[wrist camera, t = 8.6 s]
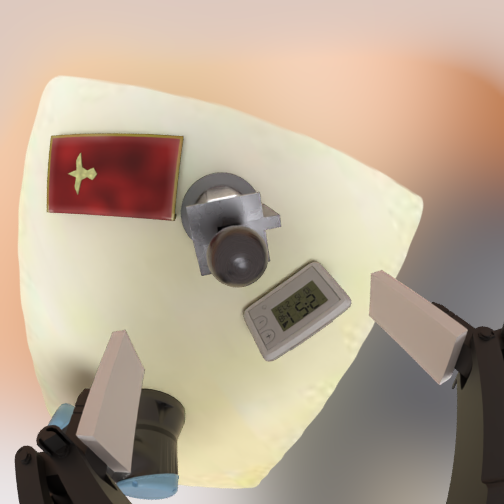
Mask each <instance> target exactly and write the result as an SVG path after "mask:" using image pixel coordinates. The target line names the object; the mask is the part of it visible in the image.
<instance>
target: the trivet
mask: <svg viewBox="0 0 504 504" xmlns="http://www.w3.org/2000/svg"><path fill="white" fill-rule="evenodd" d="M216 185H227V186H231V187H233V188H235V189H237V190H238V191H240V192H241V193H242V194H243V195H244V194H249V193H255V190H254V189H253V187H252V186H251V185H250V184H249V183H248V182H247V181H245V180H244V179H242V178H241V177H238V176H236V175H233V174H230V173H213V174H209V175H207V176H204V177H202V178H201V179H199V180H198V181H196V182H195V183H194V184H193V185H192V186H191V187H190V189H189V190H188V191H187V193H186V195H185V197H184V199H183V202H182V207H181V219H182V223H183V227H184V229H185V231H186V233H187V234H188V236H189V237H190V238H191V239H192V234H191V230H190V224H189V220H188V215H187V211H186V206H189V205H194V204H195V202H196V200H197V198H198V197H199V196H200V194H201V193H202V192H204V191H205V190H206V189H208V188H210V187H213V186H216ZM192 240H193V239H192Z"/></svg>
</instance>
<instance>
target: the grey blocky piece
mask: <svg viewBox="0 0 504 504" xmlns="http://www.w3.org/2000/svg"><path fill="white" fill-rule="evenodd" d="M186 211H187V215H188V220H189V224H190V230H191V234H192V239H193V243H194V247H195V252H196V255H197V259H198V263H199V267H200V271H201V275H202V276H204V275H208V274H212V273H211V272H210V270H209V267H208V264H207V249H208V245H209V243H210V241H211V240H212V238H213V237H214V236H215V235H216V234H217V233H218V229H217V227H221V226H226V225H231V224H236V223H238V225H239V226H245V227H249V228H251V229H253V230H254V231H256V232H257V233H258V234H259V235H260V236H261V237H262V238H263V240H264V242H265V243H266V246H267V249H268V244H267V238H266V231H265V230H267V229H272V228H277V227H281V221H280V215H279V214H278V213H276V212H275V211H274V210H272V209H271V208H269V207H268V206H266V205H265V204H261V198H260V193H259V192H255V193H249V194H244V195H243V194H242V193H241V192H240V191H238V190H237V189H235V188H233V187H231V186H227V185H216V186H213V187H210V188H208V189H206V190H205V191H204V192H202V193H201V194H200V196H199V197H198V198H197V200H196V202H195V204H194V205H189V206H186ZM269 261H270V258H269V251H268V262H269Z"/></svg>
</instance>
